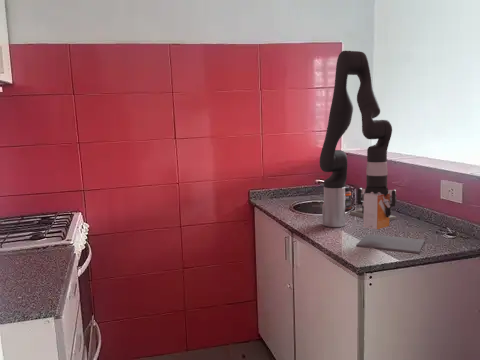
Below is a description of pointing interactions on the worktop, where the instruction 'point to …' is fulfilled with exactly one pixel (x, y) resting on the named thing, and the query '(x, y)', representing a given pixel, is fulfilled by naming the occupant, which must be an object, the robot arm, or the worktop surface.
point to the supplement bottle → (347, 198)
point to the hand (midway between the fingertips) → (376, 216)
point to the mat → (391, 243)
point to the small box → (375, 211)
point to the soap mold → (360, 214)
